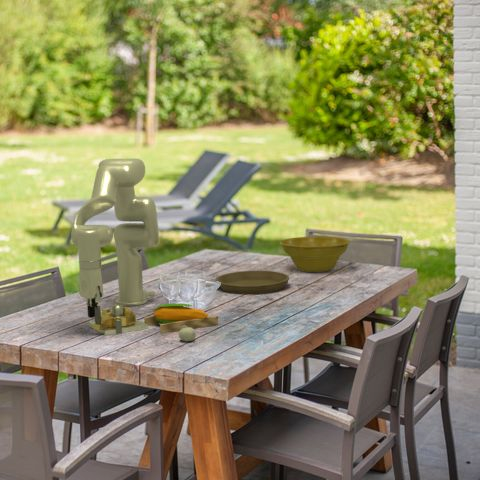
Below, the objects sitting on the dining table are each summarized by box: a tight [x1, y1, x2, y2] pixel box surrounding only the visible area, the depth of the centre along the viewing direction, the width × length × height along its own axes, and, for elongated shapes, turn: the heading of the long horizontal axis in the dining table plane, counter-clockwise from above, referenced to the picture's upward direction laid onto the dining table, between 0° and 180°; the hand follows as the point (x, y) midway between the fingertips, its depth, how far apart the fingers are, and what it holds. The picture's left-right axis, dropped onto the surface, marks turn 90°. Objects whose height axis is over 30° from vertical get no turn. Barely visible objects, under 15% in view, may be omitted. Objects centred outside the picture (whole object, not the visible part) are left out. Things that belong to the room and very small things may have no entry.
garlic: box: [178, 325, 197, 343], centre depth 319 cm, size 6×5×5 cm
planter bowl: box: [278, 236, 351, 273], centre depth 439 cm, size 32×32×13 cm
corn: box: [153, 303, 209, 324], centre depth 341 cm, size 7×8×20 cm
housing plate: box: [87, 303, 149, 336], centre depth 339 cm, size 16×17×8 cm
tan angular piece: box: [93, 305, 137, 331], centre depth 337 cm, size 18×12×8 cm
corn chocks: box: [143, 308, 219, 335], centre depth 341 cm, size 22×14×3 cm, turn 119°
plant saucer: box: [214, 270, 290, 295], centre depth 404 cm, size 31×31×5 cm
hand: (93, 316), depth 333 cm, fingers closed
